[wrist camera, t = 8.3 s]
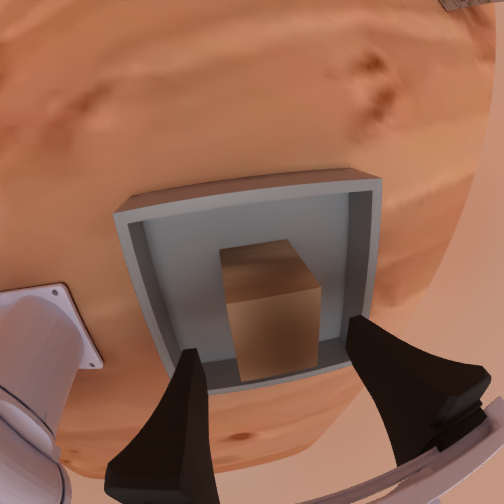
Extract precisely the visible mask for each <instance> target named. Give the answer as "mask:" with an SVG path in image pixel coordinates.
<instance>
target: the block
mask: <svg viewBox="0 0 504 504" xmlns="http://www.w3.org/2000/svg"><path fill="white" fill-rule="evenodd" d="M219 253H220V261H221V269H222V277H223V285H224V292H225V300H226V306H227V312H228V317H229V322H230V328H231V333H232V338H233V343H234V348H235V353H236V358H237V363H238V368H239V373H240V377H241V382H243V381H249V380H255V379H260V378H266V377H271V376H276V375H281V374H285V373H290V372H294V371H299V370H303V369H307V368H311V367H315V366H317V359H318V345H319V329H320V310H321V286H320V284H319V283H318V281H317V280H316V279H315V277H314V276H313V274H312V273H311V271H310V270H309V269H308V267H307V266H306V264H305V263H304V262H303V260H302V259H301V257H300V256H299V255H298V253H297V252H296V250H295V249H294V248H293V246H292V245H291V244H290V242H289V241H288V239H283V240H277V241H270V242H264V243H257V244H251V245H244V246H238V247H231V248H225V249H219Z"/></svg>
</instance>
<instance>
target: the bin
mask: <svg viewBox="0 0 504 504" xmlns="http://www.w3.org/2000/svg"><path fill="white" fill-rule="evenodd" d="M381 203H382V178H380V177H377V176H374V175H371V174H368V173H365V172H362V171H359V170H356V169H353V168H343V169H327V170H313V171H301V172H289V173H279V174H270V175H261V176H252V177H244V178H236V179H229V180H222V181H215V182H208V183H202V184H195V185H189V186H183V187H177V188H172V189H166V190H161V191H155V192H150V193H145V194H140V195H135V196H131V197H130V198H129V199H128V200H127V201H125V202H124V203H123V204H122V205H121V206H120V207H119V208H118V209H117V210H116V211H115V212H114V213H113V217H114V221H115V225H116V229H117V233H118V237H119V240H120V244H121V248H122V251H123V255H124V258H125V261H126V265H127V268H128V271H129V274H130V277H131V281H132V284H133V287H134V290H135V293H136V296H137V298H138V301H139V304H140V307H141V310H142V312H143V315H144V318H145V321H146V323H147V326H148V328H149V331H150V333H151V336H152V338H153V341H154V343H155V346H156V348H157V351H158V353H159V355H160V358H161V360H162V362H163V365H164V367H165V369H166V371H167V374H168V376H169V378H170V380H171V378H172V376H173V374H174V371H175V369H176V366H177V364H178V361H179V358H180V355H181V352H182V351H183V349H191V348H197V350H198V354H199V357H200V360H201V363H202V366H203V369H204V372H205V375H206V381H207V390H208V395H215V394H223V393H230V392H237V391H243V390H249V389H255V388H260V387H266V386H271V385H276V384H281V383H285V382H290V381H294V380H299V379H303V378H307V377H311V376H315V375H319V374H323V373H327V372H330V371H334V370H337V369H341V368H344V367H348V366H351V365H352V363H351V361H350V358H349V356H348V354H347V351H346V349H345V345H346V339H347V332H348V325H349V318H350V317H353V316H357V315H362V316H364V317H365V318H367V319H368V320H369V314H370V308H371V302H372V296H373V289H374V282H375V274H376V266H377V257H378V247H379V235H380V221H381ZM283 239H288V241H289V242H290V244H291V245H292V246H293V248H294V249H295V250H296V252H297V253H298V255H299V256H300V257H301V259H302V260H303V262H304V263H305V264H306V266H307V267H308V269H309V270H310V271H311V273H312V274H313V276H314V277H315V279H316V280H317V281H318V283H319V284H320V286H321V310H320V329H319V345H318V359H317V366H315V367H311V368H307V369H303V370H299V371H294V372H290V373H285V374H281V375H276V376H271V377H266V378H260V379H255V380H249V381H243V382H241V377H240V373H239V368H238V363H237V358H236V353H235V348H234V343H233V338H232V333H231V328H230V322H229V317H228V312H227V306H226V300H225V292H224V285H223V277H222V269H221V261H220V253H219V249H225V248H231V247H238V246H244V245H251V244H257V243H264V242H270V241H277V240H283Z"/></svg>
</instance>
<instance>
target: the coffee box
mask: <svg viewBox="0 0 504 504" xmlns="http://www.w3.org/2000/svg"><path fill="white" fill-rule="evenodd" d="M439 1H440V2H441V4H442V5H443V7H444V8H445V9H446V11H452V10H456V9H460V8H465V7H470V6H475V5H481V4H487V3H494V2H502V1H504V0H439Z"/></svg>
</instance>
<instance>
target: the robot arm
mask: <svg viewBox="0 0 504 504" xmlns="http://www.w3.org/2000/svg"><path fill="white" fill-rule="evenodd" d="M55 290H56V291H57V292H58V293H56V292H55ZM345 349H346V351H347V354H348V356H349V358H350V361H351V363H352V365H353V367H354V368H355V370H356V372H357V373H358V375H359V377H360V378H361V380H362V382H363V383H364V385H365V387H366V388H367V390H368V391H369V393H370V395H371V396H372V398H373V400H374V402H375V404H376V406H377V408H378V411H379V413H380V415H381V418H382V420H383V422H384V425H385V428H386V430H387V433H388V436H389V439H390V442H391V445H392V449H393V452H394V456H395V459H396V463H397V468H395V469H393V470H391V471H389V472H387V473H384V474H382V475H380V476H378V477H375V478H373V479H371V480H368V481H366V482H364V483H361V484H358V485H356V486H353V487H350V488H348V489H345V490H342V491H339V492H336V493H333V494H330V495H326V496H323V497H320V498H316V499H313V500H309V501H305V502H301V503H297V504H350V503H353V502H355V501H358V500H361V499H363V498H366V497H368V496H370V495H373V494H375V493H377V492H380V491H382V490H384V489H387V488H388V487H391V486H393V485H395V484H397V483H399V482H401V481H403V480H405V479H406V480H405V481H403V482H401V483H400V484H399V485H398V487H396V488H395V489H394V490H393V491H391V492H390V493H388V494H387V495H386V496H383V497H381V498H379V499H376V500H374V501H371V502H369V503H367V504H441V502H440V500H439V497H440V496H441V495H443V494H445V493H446V492H447V491H449V490H450V489H452V488H453V487H455V486H456V485H457V484H459V483H460V482H461V481H462V480H464V479H465V478H467V477H468V476H469V475H471V474H472V473H473V472H474V471H476V470H477V469H478V468H479V467H480V466H482V465H483V464H484V463H485V462H486V461H487V460H488V459H490V458H491V457H492V456H493V455H494V454H495V453H496V452H497V451H498V450H499V449H501V448H502V447H503V446H504V400H503V399H502V398H501V397H500V396H499V397H497V398H496V399H495V400H494V401H493V402H492V403H490V404H489V405H488V406H487V407H486V408H485V409H484V410H482V409H481V407H480V406H482V402H481V401H480V398H481V396H482V395H483V394H484V392H485V391H486V389H487V388H488V386H489V384H490V382H491V375H490V374H489V373H488V372H487V371H486V370H485V369H484V368H483V366H479V365H471V364H464V363H460V362H455V361H451V360H447V359H444V358H441V357H438V356H435V355H432V354H429V353H427V352H424V351H422V350H420V349H418V348H416V347H414V346H411V345H410V344H408V343H406V342H404V341H402V340H400V339H399V338H397V337H395V336H394V335H392V334H390V333H389V332H387V331H385V330H384V329H382V328H381V327H379V326H378V325H376V324H375V323H373V322H371V321H370V320H368V319H367V318H365V317H364V316H362V315H357V316H353V317H350V318H349V325H348V332H347V339H346V345H345ZM103 364H104V363H103V361H102V359H101V357H100V355H99V354H98V352H97V350H96V348H95V346H94V344H93V342H92V341H91V339H90V337H89V335H88V333H87V331H86V329H85V327H84V325H83V323H82V321H81V318H80V316H79V314H78V312H77V310H76V308H75V305H74V303H73V301H72V299H71V296H70V294H69V292H68V289H67V287H66V286H65V285H64V284H62V283H58V284H51V285H45V286H38V287H31V288H25V289H18V290H11V291H5V292H0V504H71V498H72V490H71V483H70V479H69V476H68V474H67V472H66V470H65V468H64V467H63V465H62V464H61V463H60V462H59V458H60V454H61V448H59V447H58V446H57V445H56V444H55V438H56V435H57V431H58V428H59V424H60V421H61V418H62V414H63V411H64V408H65V405H66V402H67V399H68V396H69V393H70V390H71V387H72V384H73V382H74V379H75V376H76V373H77V371H78V369H101V368H103ZM412 475H413V476H412ZM407 478H408V479H407ZM104 491H105V492H106V494H107V495H109V496H110V497H112V498H113V499H115V500H117V501H119V502H120V503H122V504H220V501H219V497H218V493H217V487H216V482H215V477H214V472H213V466H212V460H211V453H210V446H209V424H208V390H207V381H206V375H205V372H204V369H203V366H202V363H201V360H200V357H199V354H198V350H197V348H191V349H183V351H182V352H181V355H180V358H179V361H178V364H177V366H176V369H175V371H174V374H173V376H172V378H171V381H170V383H169V385H168V387H167V389H166V391H165V393H164V395H163V397H162V399H161V401H160V402H159V404H158V406H157V407H156V409H155V411H154V412H153V414H152V415H151V417H150V418H149V420H148V421H147V422H146V424H145V425H144V427H143V428H142V429H141V430H140V432H139V433H138V434H137V435H136V436H135V438H134V439H133V440H132V441H131V442H130V443H129V444H128V445H127V446H126V447H125V448H124V449H123V450H122V451H121V452H120V453H119V454H118V455H117V456H116V457H115V458H114V459H112V460H111V461H110V462H109V463H108V466H107V469H106V474H105V483H104Z"/></svg>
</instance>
